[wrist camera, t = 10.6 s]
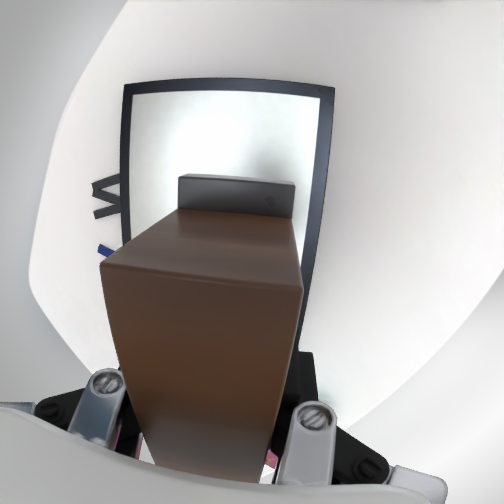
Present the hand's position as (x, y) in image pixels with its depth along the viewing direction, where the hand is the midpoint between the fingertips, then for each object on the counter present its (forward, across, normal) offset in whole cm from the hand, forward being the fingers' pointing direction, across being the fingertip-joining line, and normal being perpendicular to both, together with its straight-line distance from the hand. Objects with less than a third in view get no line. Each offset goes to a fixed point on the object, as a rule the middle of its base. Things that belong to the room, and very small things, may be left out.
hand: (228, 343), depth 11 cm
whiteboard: (+11, +3, 0) cm, 11 cm away
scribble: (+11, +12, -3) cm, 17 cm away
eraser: (0, 0, 0) cm, 0 cm away
